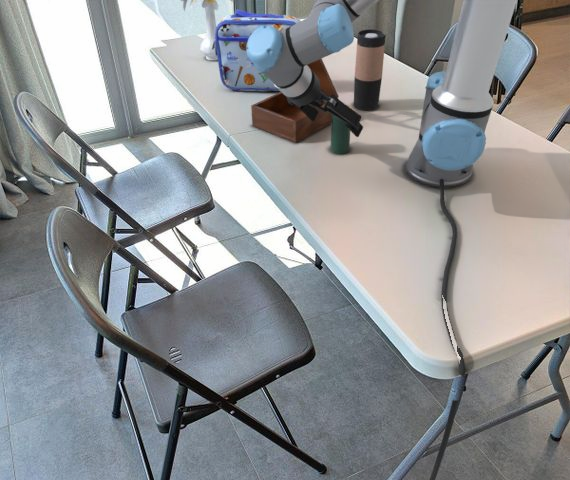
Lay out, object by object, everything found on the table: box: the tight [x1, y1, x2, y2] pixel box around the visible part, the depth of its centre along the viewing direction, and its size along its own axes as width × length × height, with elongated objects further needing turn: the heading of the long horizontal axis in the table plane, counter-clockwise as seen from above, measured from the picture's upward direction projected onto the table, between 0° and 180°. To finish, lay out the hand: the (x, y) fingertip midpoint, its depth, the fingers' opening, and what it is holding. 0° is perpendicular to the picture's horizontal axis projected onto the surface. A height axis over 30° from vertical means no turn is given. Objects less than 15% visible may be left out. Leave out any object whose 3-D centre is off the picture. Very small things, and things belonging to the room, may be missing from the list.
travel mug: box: [353, 28, 386, 112], centre depth 152 cm, size 8×8×20 cm
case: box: [250, 91, 332, 144], centre depth 149 cm, size 18×16×6 cm
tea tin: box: [329, 104, 353, 155], centre depth 135 cm, size 5×5×11 cm
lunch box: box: [212, 8, 302, 92], centre depth 163 cm, size 28×10×22 cm, turn 84°
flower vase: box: [180, 0, 234, 62], centre depth 182 cm, size 13×18×25 cm
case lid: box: [307, 58, 340, 99], centre depth 144 cm, size 19×16×7 cm
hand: (336, 123), depth 133 cm, fingers open, 13 cm apart
